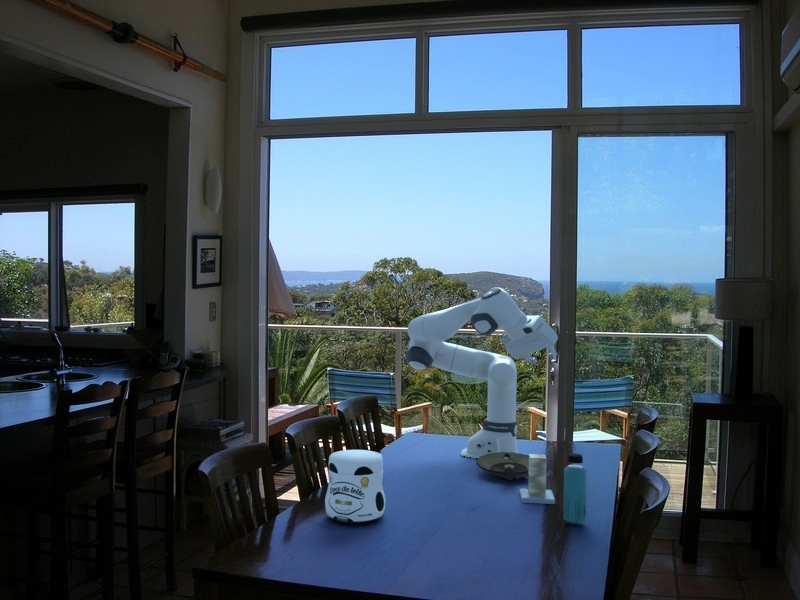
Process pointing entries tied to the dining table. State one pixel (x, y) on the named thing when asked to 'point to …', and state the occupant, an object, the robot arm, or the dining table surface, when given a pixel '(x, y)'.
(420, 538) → the dining table surface
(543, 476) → the maple block
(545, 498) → the white square slab
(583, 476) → the beverage bottle
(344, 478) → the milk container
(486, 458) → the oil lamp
